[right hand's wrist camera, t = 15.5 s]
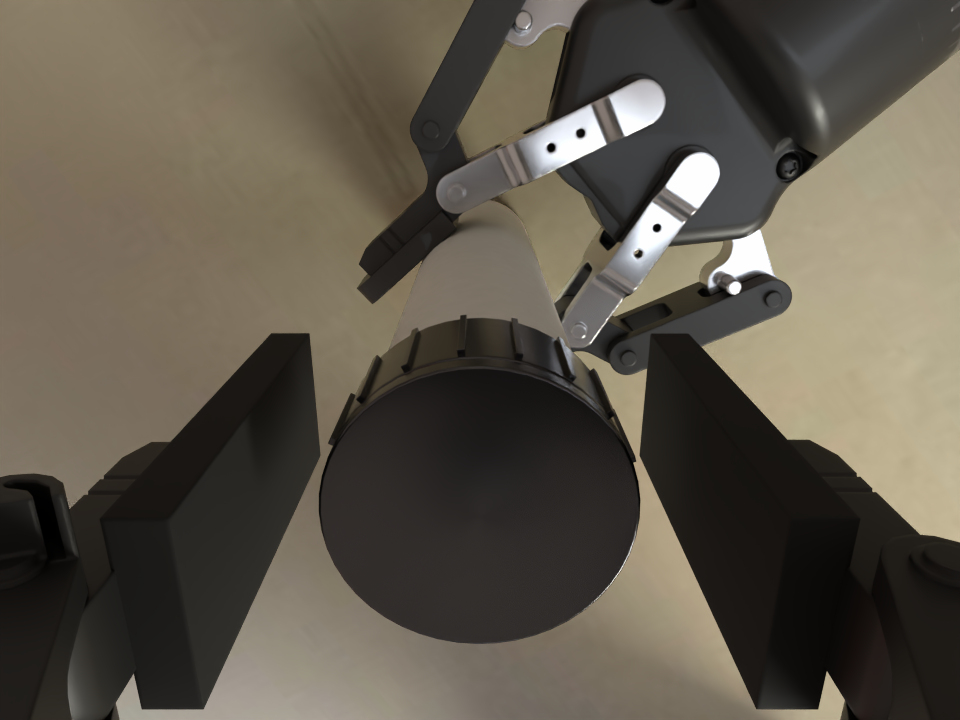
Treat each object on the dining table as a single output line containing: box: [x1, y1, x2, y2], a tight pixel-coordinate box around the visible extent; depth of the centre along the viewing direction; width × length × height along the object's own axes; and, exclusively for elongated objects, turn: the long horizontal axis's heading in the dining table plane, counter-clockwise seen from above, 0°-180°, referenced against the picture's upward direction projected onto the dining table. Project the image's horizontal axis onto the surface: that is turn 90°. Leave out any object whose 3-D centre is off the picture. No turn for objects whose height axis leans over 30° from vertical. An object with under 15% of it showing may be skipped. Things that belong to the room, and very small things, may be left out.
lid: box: [319, 315, 640, 644], centre depth 11 cm, size 5×5×2 cm
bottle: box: [388, 200, 571, 351], centre depth 20 cm, size 4×4×19 cm
